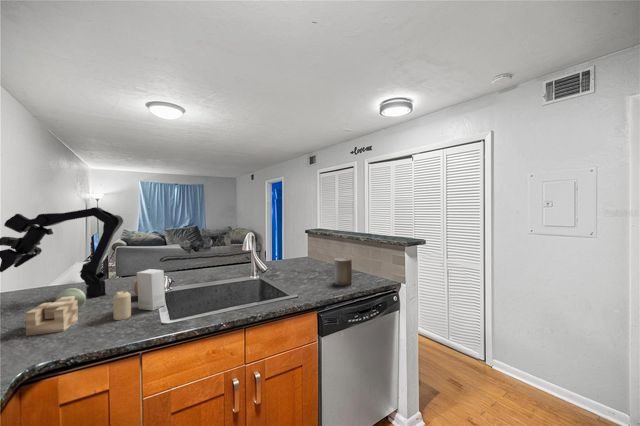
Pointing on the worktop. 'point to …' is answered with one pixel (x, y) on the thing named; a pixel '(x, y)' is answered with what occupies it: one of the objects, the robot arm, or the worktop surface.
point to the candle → (122, 305)
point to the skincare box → (151, 289)
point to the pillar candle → (343, 271)
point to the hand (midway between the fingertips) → (8, 269)
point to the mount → (59, 323)
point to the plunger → (63, 298)
